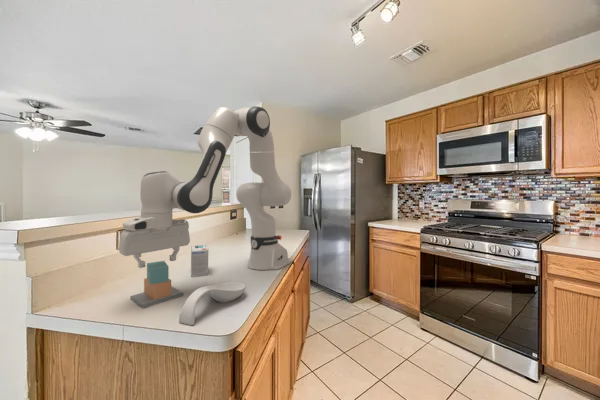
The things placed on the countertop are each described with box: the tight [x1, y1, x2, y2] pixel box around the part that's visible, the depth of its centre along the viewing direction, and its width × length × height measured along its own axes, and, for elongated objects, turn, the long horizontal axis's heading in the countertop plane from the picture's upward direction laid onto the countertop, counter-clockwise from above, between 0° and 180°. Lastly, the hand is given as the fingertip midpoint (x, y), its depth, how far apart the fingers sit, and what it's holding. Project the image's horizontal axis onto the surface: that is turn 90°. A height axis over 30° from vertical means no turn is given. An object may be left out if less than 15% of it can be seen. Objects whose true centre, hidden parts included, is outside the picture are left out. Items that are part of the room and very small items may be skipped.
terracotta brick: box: [143, 277, 172, 300], centre depth 80 cm, size 5×8×5 cm, turn 52°
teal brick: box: [146, 260, 170, 285], centre depth 80 cm, size 5×8×5 cm, turn 38°
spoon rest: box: [178, 281, 247, 326], centre depth 74 cm, size 24×12×7 cm, turn 162°
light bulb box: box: [190, 244, 209, 278], centre depth 105 cm, size 11×7×11 cm, turn 23°
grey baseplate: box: [129, 285, 185, 309], centre depth 80 cm, size 12×10×1 cm
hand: (158, 263), depth 80 cm, fingers open, 8 cm apart
